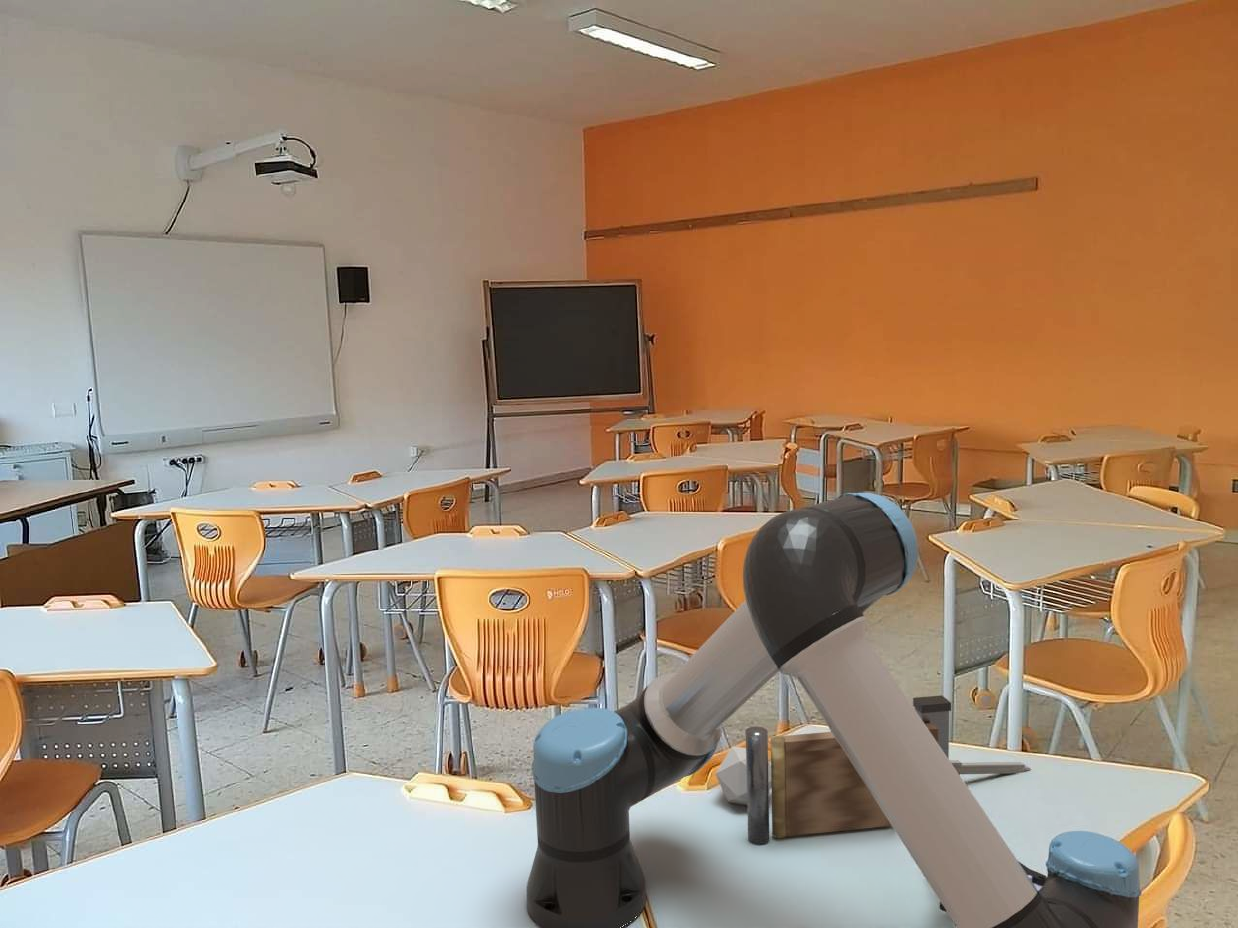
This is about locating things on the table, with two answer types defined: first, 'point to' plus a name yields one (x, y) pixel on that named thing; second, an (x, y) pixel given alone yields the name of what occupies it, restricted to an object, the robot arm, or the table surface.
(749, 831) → the hinge post
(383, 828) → the table surface
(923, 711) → the post
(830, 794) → the gate
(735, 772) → the die
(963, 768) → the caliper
